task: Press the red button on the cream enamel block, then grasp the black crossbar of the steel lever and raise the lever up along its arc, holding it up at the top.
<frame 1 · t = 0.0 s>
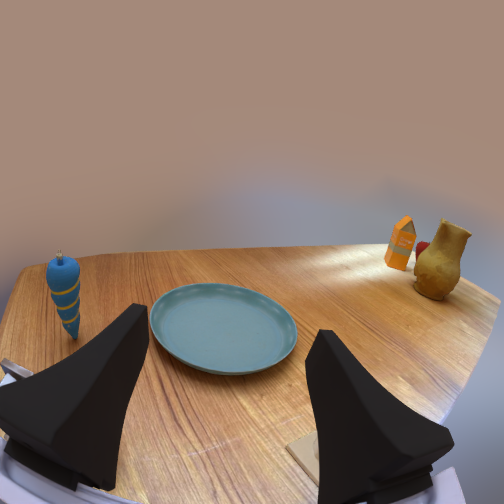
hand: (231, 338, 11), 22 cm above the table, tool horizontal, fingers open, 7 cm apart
bracket: (41, 435, 18), on the table
button block: (335, 452, 25), on the table
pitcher: (430, 293, 78), on the table
ornament: (75, 340, 34), on the table
lever: (52, 422, 16), point 6 cm above the table, hinge at -25.0°
orange juice: (393, 265, 98), on the table
teal plate: (222, 334, 45), on the table
apple: (420, 267, 103), on the table
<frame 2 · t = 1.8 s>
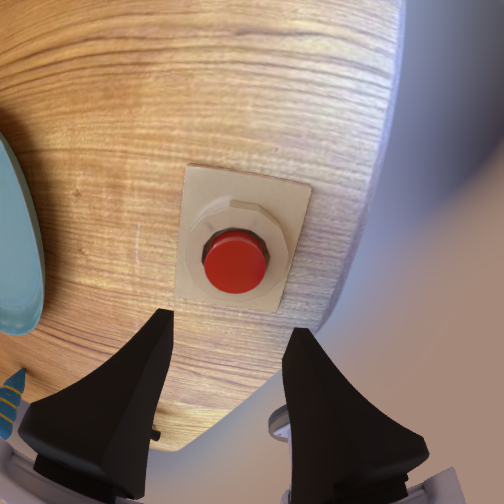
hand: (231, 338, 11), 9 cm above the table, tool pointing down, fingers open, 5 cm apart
button block: (236, 242, 19), on the table
button: (235, 262, 17), point 3 cm above the table, slide at 0.1 cm
ornament: (25, 368, 28), on the table
lever: (125, 450, 25), point 6 cm above the table, hinge at -25.0°
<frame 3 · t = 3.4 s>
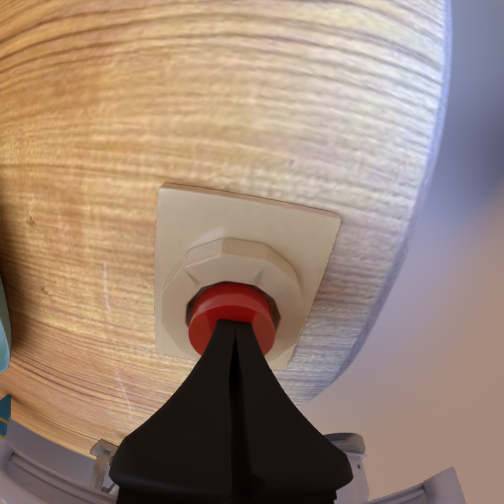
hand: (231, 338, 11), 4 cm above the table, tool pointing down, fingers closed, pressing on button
bracket: (117, 454, 27), on the table
button block: (233, 289, 14), on the table
button: (232, 326, 12), point 3 cm above the table, slide at 0.1 cm, touching gripper
ornament: (11, 395, 23), on the table
lever: (117, 486, 20), point 6 cm above the table, hinge at -25.0°
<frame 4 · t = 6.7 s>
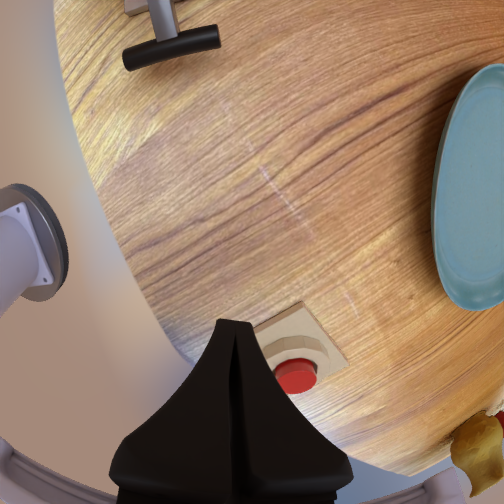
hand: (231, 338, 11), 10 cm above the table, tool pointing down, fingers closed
button block: (291, 353, 25), on the table
button: (295, 376, 22), point 3 cm above the table, slide at 0.1 cm
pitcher: (466, 424, 47), on the table
teal plate: (498, 187, 18), on the table
apple: (496, 414, 52), on the table
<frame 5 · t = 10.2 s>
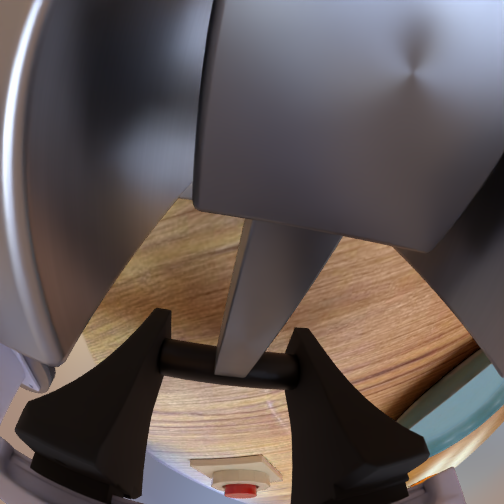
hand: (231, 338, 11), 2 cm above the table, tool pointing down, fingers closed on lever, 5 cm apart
bracket: (271, 102, 9), on the table
button block: (240, 470, 24), on the table
button: (240, 490, 22), point 3 cm above the table, slide at 0.1 cm
lever: (257, 300, 5), point 6 cm above the table, hinge at -25.0°, touching gripper
orange juice: (424, 479, 54), on the table
teal plate: (460, 395, 21), on the table
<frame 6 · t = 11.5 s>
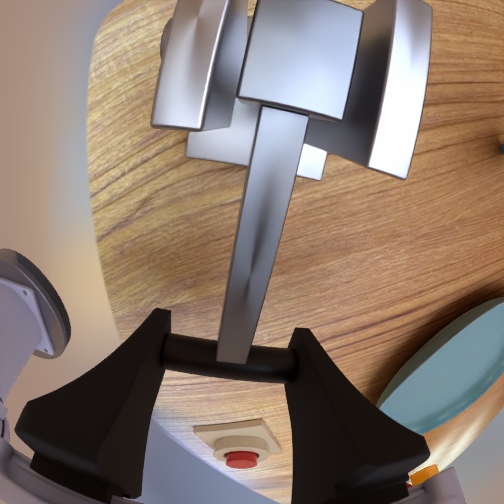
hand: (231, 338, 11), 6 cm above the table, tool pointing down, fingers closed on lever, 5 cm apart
bracket: (267, 92, 12), on the table
button block: (241, 439, 28), on the table
button: (241, 459, 25), point 3 cm above the table, slide at 0.1 cm
ornament: (498, 147, 13), on the table
lever: (257, 233, 7), point 8 cm above the table, hinge at -2.3°, touching gripper
orange juice: (423, 470, 57), on the table
teal plate: (450, 366, 24), on the table
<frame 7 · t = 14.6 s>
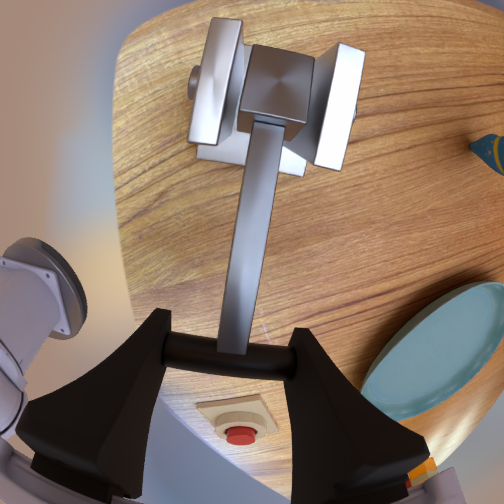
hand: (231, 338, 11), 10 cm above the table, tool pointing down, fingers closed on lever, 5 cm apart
bracket: (261, 107, 16), on the table
button block: (240, 417, 31), on the table
button: (240, 435, 29), point 3 cm above the table, slide at 0.1 cm
ornament: (468, 145, 17), on the table
lever: (252, 218, 9), point 9 cm above the table, hinge at 18.4°, touching gripper
orange juice: (419, 462, 61), on the table
teal plate: (435, 348, 28), on the table
apple: (399, 477, 69), on the table
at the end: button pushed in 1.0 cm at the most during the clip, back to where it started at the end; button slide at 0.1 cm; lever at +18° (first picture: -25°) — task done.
